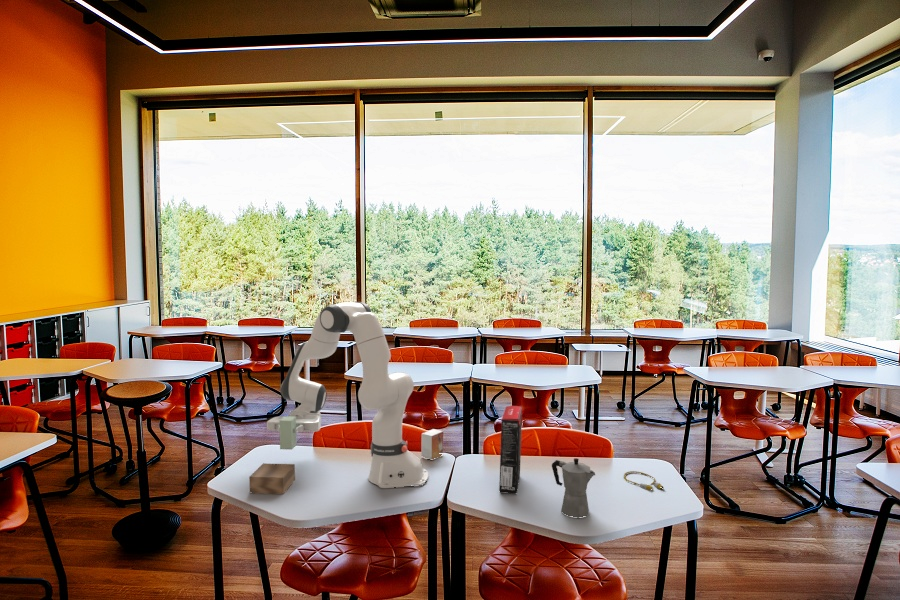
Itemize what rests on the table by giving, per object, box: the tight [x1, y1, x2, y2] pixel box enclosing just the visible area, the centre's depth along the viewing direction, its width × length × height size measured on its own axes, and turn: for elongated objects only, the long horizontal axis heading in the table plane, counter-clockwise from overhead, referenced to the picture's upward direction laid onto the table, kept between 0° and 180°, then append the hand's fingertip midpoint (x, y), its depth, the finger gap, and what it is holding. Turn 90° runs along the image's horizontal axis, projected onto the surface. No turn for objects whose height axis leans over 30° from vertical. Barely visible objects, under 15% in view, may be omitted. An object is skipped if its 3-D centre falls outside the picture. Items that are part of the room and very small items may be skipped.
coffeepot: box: [551, 458, 596, 517], centre depth 176 cm, size 15×9×18 cm, turn 50°
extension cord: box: [623, 470, 664, 491], centre depth 200 cm, size 12×16×2 cm
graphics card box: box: [498, 405, 523, 494], centre depth 196 cm, size 17×7×27 cm, turn 169°
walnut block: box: [248, 462, 296, 495], centre depth 194 cm, size 12×12×6 cm
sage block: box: [279, 415, 298, 451], centre depth 202 cm, size 4×5×11 cm
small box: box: [420, 428, 444, 460], centre depth 223 cm, size 8×6×10 cm
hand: (287, 430), depth 201 cm, fingers closed on sage block, 4 cm apart
